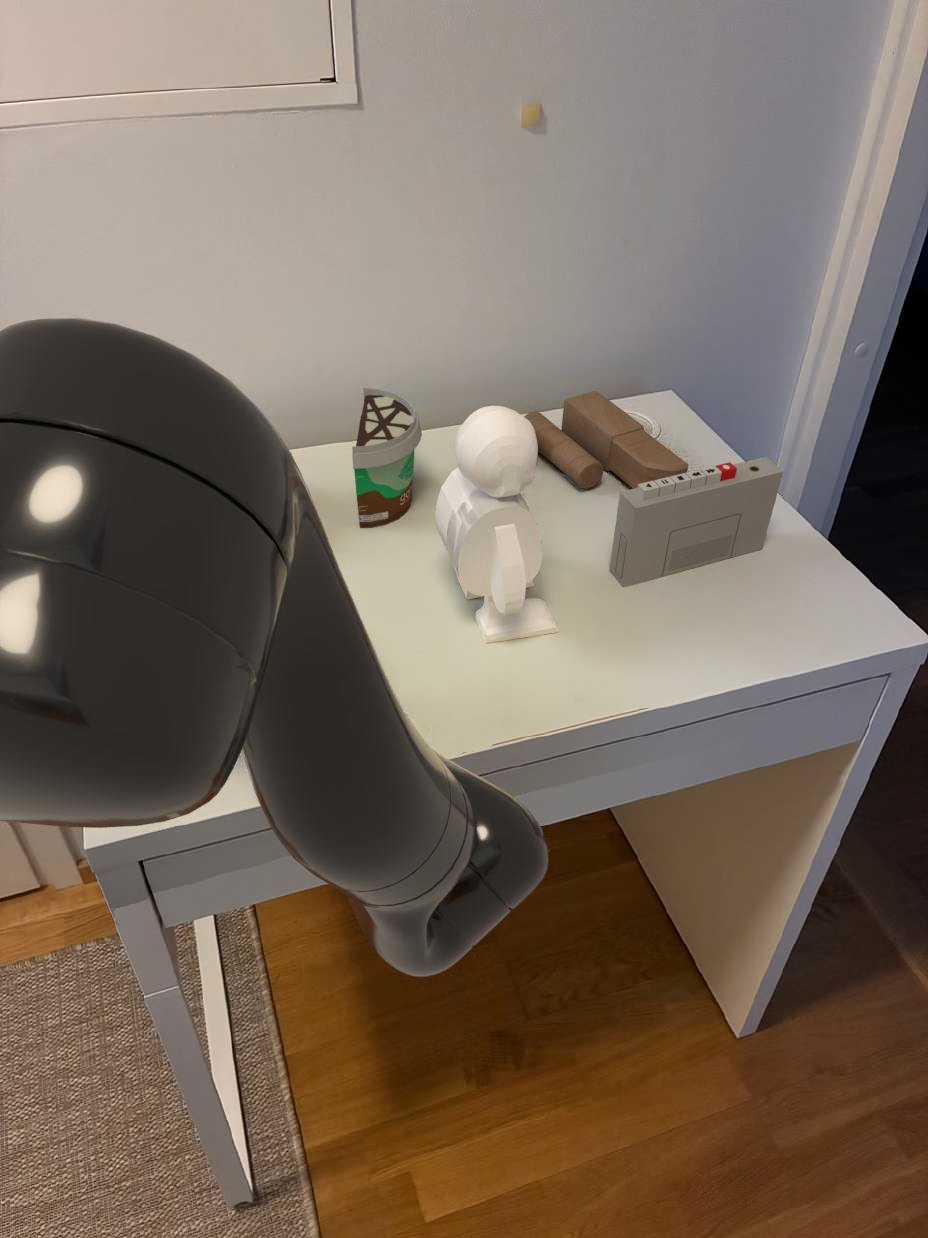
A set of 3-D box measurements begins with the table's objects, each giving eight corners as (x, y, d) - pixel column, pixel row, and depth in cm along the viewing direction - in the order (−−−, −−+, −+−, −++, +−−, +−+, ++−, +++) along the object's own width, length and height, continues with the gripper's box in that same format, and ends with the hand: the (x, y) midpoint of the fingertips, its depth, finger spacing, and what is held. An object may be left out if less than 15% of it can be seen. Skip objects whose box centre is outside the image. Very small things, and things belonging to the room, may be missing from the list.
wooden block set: (593, 377, 109) (695, 453, 97) (588, 421, 112) (685, 499, 101) (462, 412, 102) (554, 497, 91) (461, 458, 106) (550, 545, 94)
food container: (420, 537, 95) (418, 450, 88) (358, 536, 95) (351, 449, 88) (425, 469, 104) (424, 386, 98) (369, 468, 104) (363, 384, 98)
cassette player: (746, 533, 96) (767, 447, 90) (762, 549, 94) (785, 462, 88) (609, 570, 92) (621, 482, 85) (623, 587, 90) (637, 498, 83)
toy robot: (566, 646, 84) (587, 447, 70) (467, 665, 82) (470, 465, 68) (516, 551, 94) (527, 362, 80) (427, 567, 92) (423, 375, 78)
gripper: (392, 601, 61) (273, 482, 70) (180, 695, 54) (82, 551, 64) (397, 684, 66) (285, 563, 75) (203, 779, 59) (108, 633, 69)
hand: (192, 557), depth 70 cm, fingers open, 8 cm apart
